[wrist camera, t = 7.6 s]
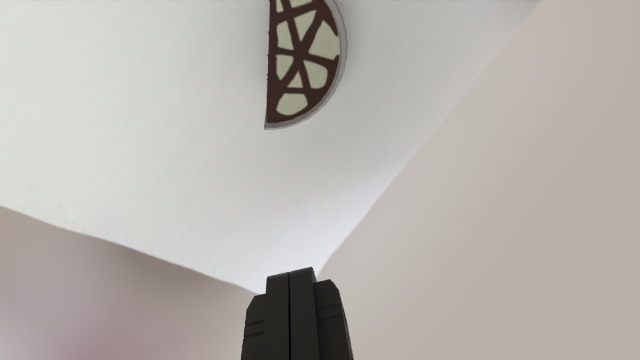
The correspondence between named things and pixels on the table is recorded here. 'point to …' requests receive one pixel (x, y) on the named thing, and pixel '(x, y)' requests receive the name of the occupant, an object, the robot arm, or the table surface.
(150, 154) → the table surface
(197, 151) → the table surface
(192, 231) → the table surface
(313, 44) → the food container
